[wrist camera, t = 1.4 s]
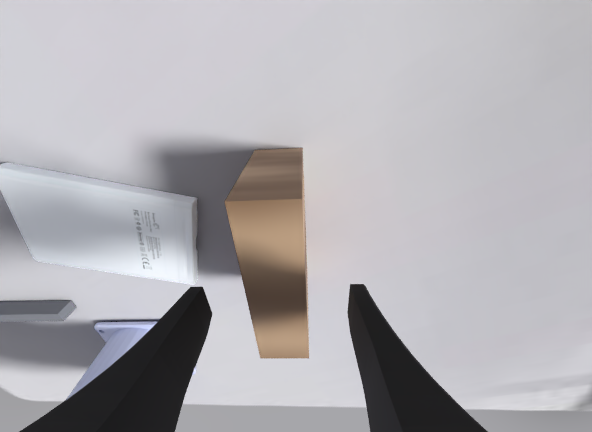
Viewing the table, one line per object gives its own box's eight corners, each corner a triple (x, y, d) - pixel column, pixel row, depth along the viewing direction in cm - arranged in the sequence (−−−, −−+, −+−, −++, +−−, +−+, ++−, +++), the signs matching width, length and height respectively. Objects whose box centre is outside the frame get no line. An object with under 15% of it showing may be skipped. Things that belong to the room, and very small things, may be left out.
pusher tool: (307, 275, 21) (308, 358, 15) (272, 276, 21) (260, 358, 15) (302, 147, 15) (302, 198, 9) (254, 149, 15) (224, 201, 9)
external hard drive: (14, 159, 17) (200, 194, 18) (52, 250, 21) (200, 274, 22) (-13, 167, 15) (191, 205, 16) (34, 263, 19) (193, 288, 20)
